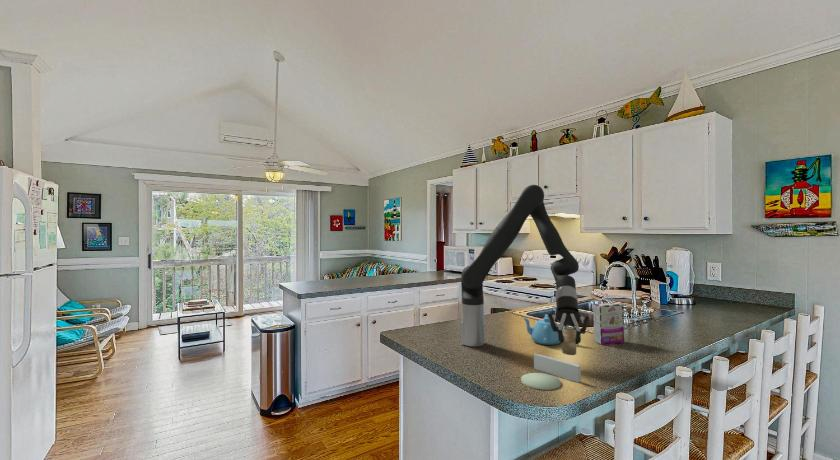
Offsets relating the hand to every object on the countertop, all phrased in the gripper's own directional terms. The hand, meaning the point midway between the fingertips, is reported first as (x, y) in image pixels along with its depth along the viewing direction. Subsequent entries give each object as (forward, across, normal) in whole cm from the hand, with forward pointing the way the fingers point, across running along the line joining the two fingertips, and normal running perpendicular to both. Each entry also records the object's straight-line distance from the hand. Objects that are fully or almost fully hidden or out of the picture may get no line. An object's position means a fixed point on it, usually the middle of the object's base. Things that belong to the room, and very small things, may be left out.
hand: (569, 342), depth 128 cm
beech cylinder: (+2, 0, +4) cm, 4 cm away
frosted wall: (+11, -5, +2) cm, 12 cm away
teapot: (-17, -6, +31) cm, 35 cm away
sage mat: (+16, -10, -3) cm, 19 cm away
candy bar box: (-20, +19, +33) cm, 43 cm away
